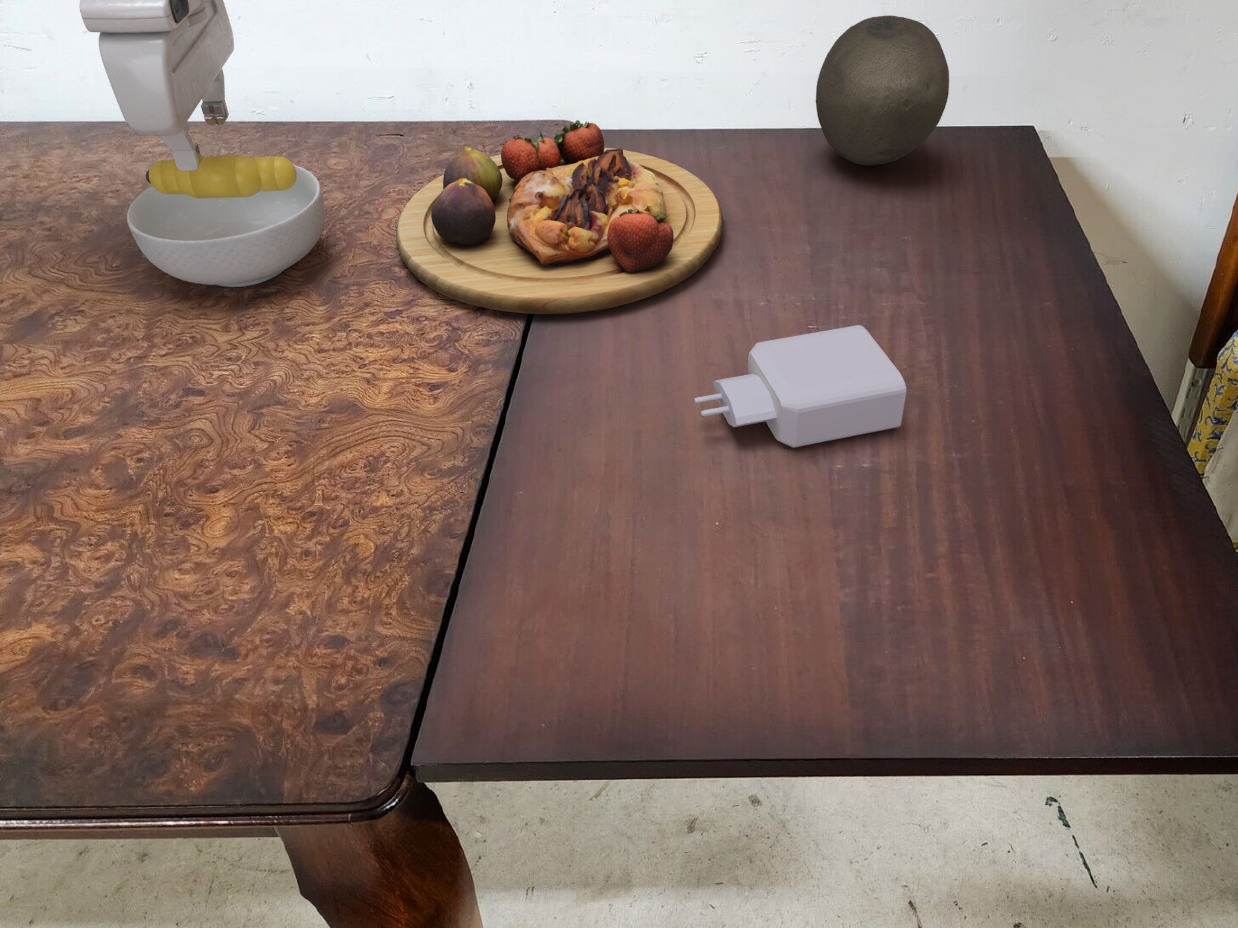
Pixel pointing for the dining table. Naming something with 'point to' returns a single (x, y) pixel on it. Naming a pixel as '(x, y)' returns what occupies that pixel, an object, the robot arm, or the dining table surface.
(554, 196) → the wooden plate
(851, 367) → the charger
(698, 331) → the dining table surface
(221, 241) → the cereal bowl
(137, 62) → the robot arm
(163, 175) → the yellow lumpy cylinder
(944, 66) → the kiwi fruit
